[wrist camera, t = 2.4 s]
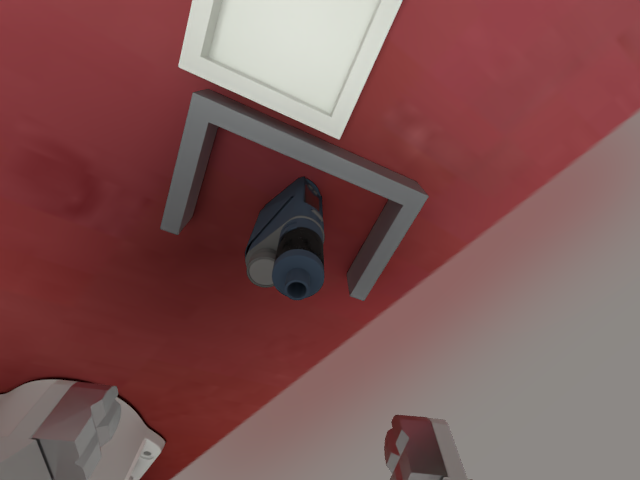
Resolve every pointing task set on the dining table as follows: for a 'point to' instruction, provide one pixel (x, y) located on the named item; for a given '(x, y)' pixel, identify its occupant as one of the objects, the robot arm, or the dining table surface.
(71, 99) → the dining table surface
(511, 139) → the dining table surface
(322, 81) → the tray
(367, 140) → the dining table surface
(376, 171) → the bay
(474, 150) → the dining table surface
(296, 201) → the vaping device
